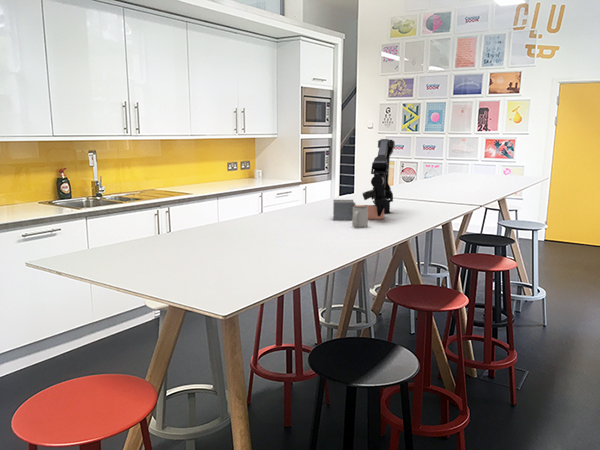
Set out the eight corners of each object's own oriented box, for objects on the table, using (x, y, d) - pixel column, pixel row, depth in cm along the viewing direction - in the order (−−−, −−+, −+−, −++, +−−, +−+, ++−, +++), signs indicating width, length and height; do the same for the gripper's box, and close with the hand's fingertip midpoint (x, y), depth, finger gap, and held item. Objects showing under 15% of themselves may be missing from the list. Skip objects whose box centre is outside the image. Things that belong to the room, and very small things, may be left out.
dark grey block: (354, 216, 262) (354, 199, 260) (355, 220, 253) (356, 202, 251) (333, 216, 263) (333, 199, 261) (333, 220, 253) (333, 202, 251)
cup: (370, 225, 240) (370, 207, 238) (361, 229, 232) (361, 210, 230) (356, 224, 244) (356, 205, 242) (347, 227, 236) (347, 208, 234)
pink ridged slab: (383, 217, 258) (383, 205, 257) (383, 218, 256) (384, 205, 254) (349, 217, 259) (350, 204, 257) (350, 218, 256) (350, 205, 255)
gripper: (362, 182, 263) (361, 212, 266) (365, 187, 245) (364, 219, 248) (383, 183, 263) (382, 212, 266) (388, 187, 244) (387, 219, 247)
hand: (378, 215), depth 257 cm, fingers closed on pink ridged slab, 2 cm apart
